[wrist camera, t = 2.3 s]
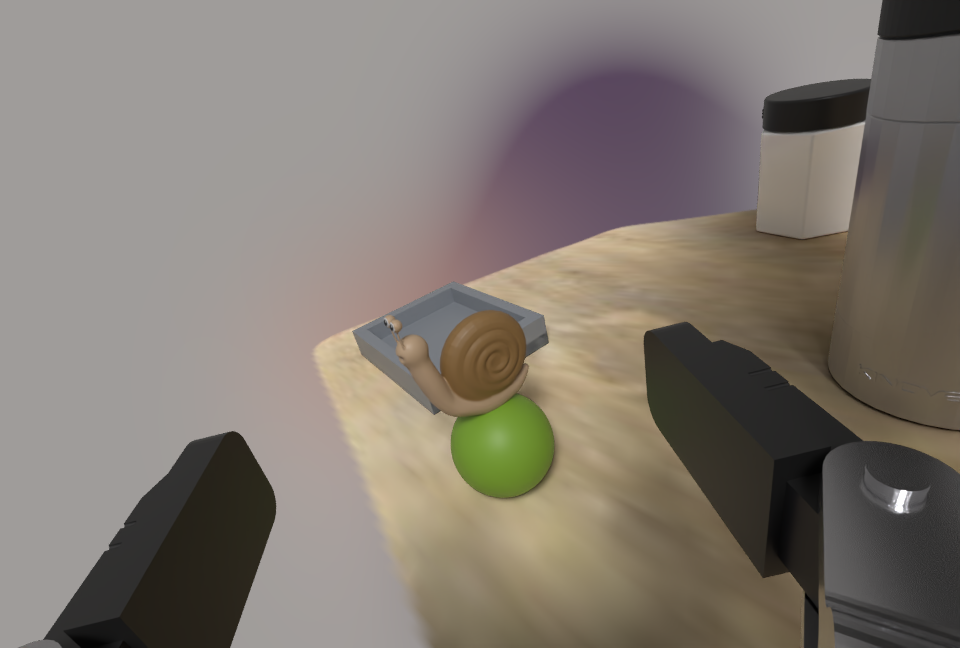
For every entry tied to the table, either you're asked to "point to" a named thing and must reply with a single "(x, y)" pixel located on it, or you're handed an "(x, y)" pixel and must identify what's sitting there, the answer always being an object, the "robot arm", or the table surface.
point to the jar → (811, 158)
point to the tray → (438, 330)
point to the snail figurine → (484, 401)
